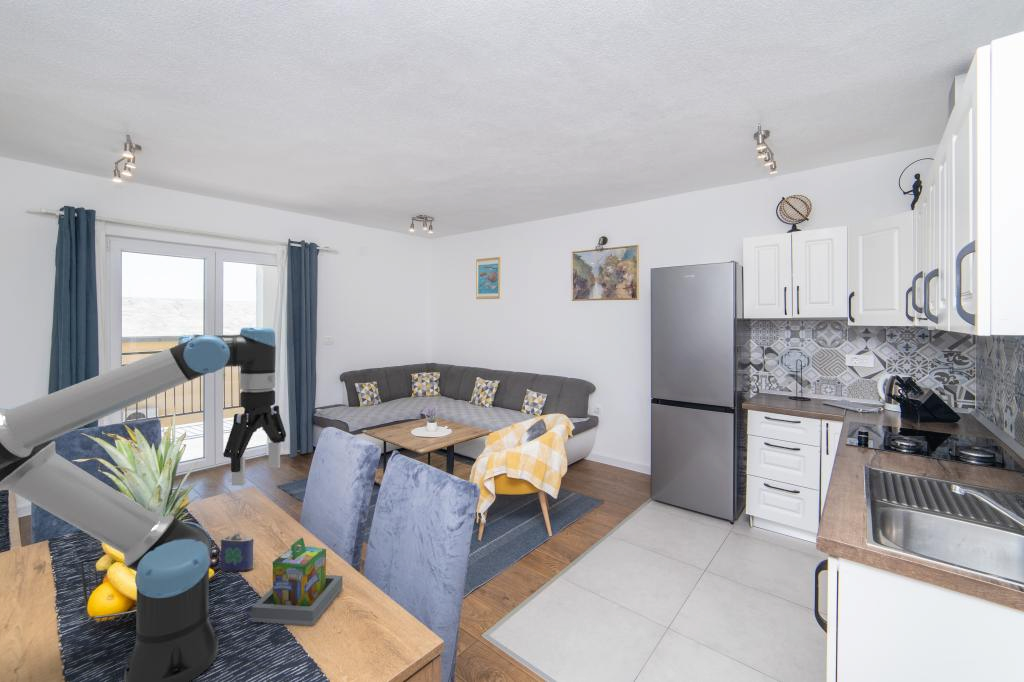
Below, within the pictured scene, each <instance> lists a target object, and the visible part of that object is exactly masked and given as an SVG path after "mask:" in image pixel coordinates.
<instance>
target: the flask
mask: <svg viewBox="0 0 1024 682" xmlns="http://www.w3.org/2000/svg"><path fill="white" fill-rule="evenodd" d="M232 535H233V536H232ZM232 535H230V534H229V535H226V536H224V537H223V536H222V538H221V540H220V569H221V570H222V571H221V570H220V571H221V572H225V571H229V572H228V573H232V572H235V573H245V572H246V573H247V572H250V571H252V570H253V569H254V538H253V536H249V537H247V536H246V537H241V536H240V535H241V531H238V532H234V533H232Z"/></svg>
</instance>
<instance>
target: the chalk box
mask: <svg viewBox="0 0 1024 682" xmlns="http://www.w3.org/2000/svg"><path fill="white" fill-rule="evenodd" d="M326 575H327V549H326V548H322V547H321V548H319V547H315V546H306V544H305V541H304V538H303V537H300V538H299V539H297V540H296V541H295V542H293V543H291V546H290V549H289V550H287V551H286V552H284V553H282V554H281V555H279V557H277V558H276V559H275V560H273V561H272V588H273V604H276V605H292V606H309V607H310V606H311V605H312V604H313V603H314V602H315V600H316V599H317V598H318V597H319V596H320V595H321V593H322V592H323V591H324V590H325V589H326Z"/></svg>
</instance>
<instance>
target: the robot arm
mask: <svg viewBox="0 0 1024 682" xmlns="http://www.w3.org/2000/svg"><path fill="white" fill-rule="evenodd" d="M276 349H277V345H276V332H275V330H274V329H273V328H270V327H242V328H240V332H239V334H238V335H237V334H236V335H222V334H221V335H218V334H217V335H216V334H215V335H213V334H191V335H190V334H188V335H186V334H185V335H181V336H180V337H179V338H178V344H177V345H175V346H173V347H171V348H166V349H164V350H162V351H159V352H156V353H154V354H151V355H148V356H146V357H143V358H140V359H138V360H136V361H134V362H130V363H128V364H126V365H122V366H120V367H117V368H115V369H112V370H109V371H106V372H104V373H102V374H99V375H97V376H94V377H91V378H89V379H86V380H83V381H80V382H78V383H75V384H73V385H70V386H67V387H65V388H62V389H60V390H58V391H54V392H52V393H49V394H47V395H43V396H42V397H38V398H36V399H33V400H31V401H28V402H25V403H23V404H20V405H18V406H15V407H12V408H0V491H1V492H2V491H11V492H13V493H14V494H16V495H18V496H19V497H22V498H23V499H25V500H27V501H28V502H31V503H33V505H36V506H37V507H39V508H41V509H43V510H44V511H46V512H48V513H50V514H52V515H53V516H55V517H57V518H59V519H60V520H62V521H65V522H66V523H68V524H70V525H71V526H74V527H75V528H77V529H78V530H79V531H80V530H81V531H82V532H84V533H86V534H87V535H89V536H91V537H93V538H95V539H96V540H98V541H100V542H102V543H103V544H105V545H107V546H109V547H110V548H112V549H114V550H116V551H118V552H120V553H121V554H123V556H124V558H123V560H124V561H123V563H124V564H123V565H124V566H126V567H127V568H129V569H131V570H133V571H134V572H135V576H134V583H135V586H136V619H135V620H136V624H135V625H136V626H135V627H136V629H135V630H136V632H135V633H136V636H135V637H136V639H135V643H134V645H133V648H132V651H131V653H130V655H129V659H128V662H127V664H126V667H125V669H124V674H123V675H124V676H123V677H124V680H123V681H124V682H189V681H190V682H191V680H192V681H193V680H195V679H196V677H197V678H198V677H200V676H201V675H202V674H204V671H205V670H206V669H207V670H208V669H209V668H210V667H211V666H212V665H213V664H214V663H215V661H216V659H217V658H216V657H218V655H217V654H219V639H218V636H217V634H216V633H215V631H214V628H213V625H212V623H211V619H210V617H209V608H210V607H209V603H210V602H209V599H210V598H209V595H210V592H209V588H210V587H209V583H210V564H211V553H212V541H211V538H210V536H209V534H208V532H207V530H206V529H205V528H204V527H203V526H201V525H200V524H199V523H195V522H192V521H182V520H180V519H178V518H177V517H176V516H174V515H166V516H161V517H160V516H158V515H156V514H155V513H154V512H152V511H150V510H148V509H147V508H145V507H144V506H142V505H141V504H139V503H137V502H135V501H134V500H133V499H131V498H129V497H128V496H126V495H124V494H122V492H119V491H118V490H117V489H114V488H113V487H111V486H109V485H108V484H107V483H105V482H104V481H101V480H100V479H98V477H95V476H94V475H92V474H90V473H89V472H87V471H85V470H83V468H81V467H79V466H78V465H75V464H74V463H73V462H71V461H69V460H68V459H66V458H64V456H63V457H62V456H61V455H60V454H58V453H57V451H56V442H55V441H54V439H56V438H58V437H61V436H63V435H65V434H68V433H71V432H72V431H75V430H77V429H79V428H82V427H83V426H86V425H89V424H91V423H93V422H96V421H98V420H100V419H103V418H105V417H108V416H111V414H112V415H113V414H115V413H117V412H119V411H122V410H124V409H126V408H129V407H131V406H133V405H136V404H138V403H140V402H143V401H145V400H147V399H149V398H152V397H155V396H157V395H160V394H161V393H165V392H167V391H169V390H171V389H174V388H175V387H179V386H181V385H184V384H185V383H187V382H190V381H193V380H195V379H198V378H200V377H202V376H204V375H207V374H212V373H215V372H218V371H220V370H221V369H223V368H224V367H225V368H226V367H228V368H229V367H233V368H234V367H236V368H237V367H239V369H240V373H239V374H240V375H239V389H240V390H242V391H241V392H240V394H239V406H240V407H241V408H243V409H244V411H243V413H234V415H233V420H232V421H233V424H232V426H231V430H230V433H229V435H228V438H227V442H226V445H225V448H224V451H223V458H229V459H230V471H231V486H245V485H246V456H244V454H245V451H246V450H247V447H248V445H249V442H250V441H251V440H252V437H253V434H254V433H255V432H257V430H258V429H261V428H262V430H263V431H264V433H265V434H266V435H267V437H268V438H269V439H268V440H270V441H269V442H268V464H267V466H268V467H267V468H269V469H280V467H281V443H285V441H286V439H285V438H286V437H287V433H286V430H285V426H284V423H283V420H282V418H281V414H280V406H279V405H275V404H276V391H275V390H274V389H275V387H276V351H277V350H276ZM214 660H215V661H214ZM212 663H213V664H212ZM211 664H212V665H211ZM207 670H206V671H207ZM206 671H205V672H206ZM201 673H202V674H201ZM200 674H201V675H200Z"/></svg>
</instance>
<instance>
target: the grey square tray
mask: <svg viewBox="0 0 1024 682" xmlns="http://www.w3.org/2000/svg"><path fill="white" fill-rule="evenodd" d="M342 590H343V575H332V574H326V589H325V590H324V591H323V592H322V593H321V595H320V596H319V597H318V598H317V599H316V600H315V602H314V603H313V604H312V605H311V606H310V607H309V606H292V605H276V604H273V587H272V588H271V589H269V591H267V592H266V593H265V594H264V595H263V596H261V598H260V599H259V600H257V601H256V602H255V603H254V605H252V606H251V614H250V615H251V620H250V622H251V621H252V622H251V623H261V622H263V624H277V623H278V624H279V625H281V624H282V625H292V626H293V625H295V626H297V625H298V626H311V627H312V626H314V625H315V624H316V622H317V621H318V620H319V619H320V618H321V616H322V615H323V614H324V613H325V612H326V610H327V609H328V607H330V605H331V604H332V602H333V601H334V600H335V599H336V598H337V597H338V595H339V594H340V592H341V591H342ZM338 593H339V594H338ZM334 598H335V599H334Z"/></svg>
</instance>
